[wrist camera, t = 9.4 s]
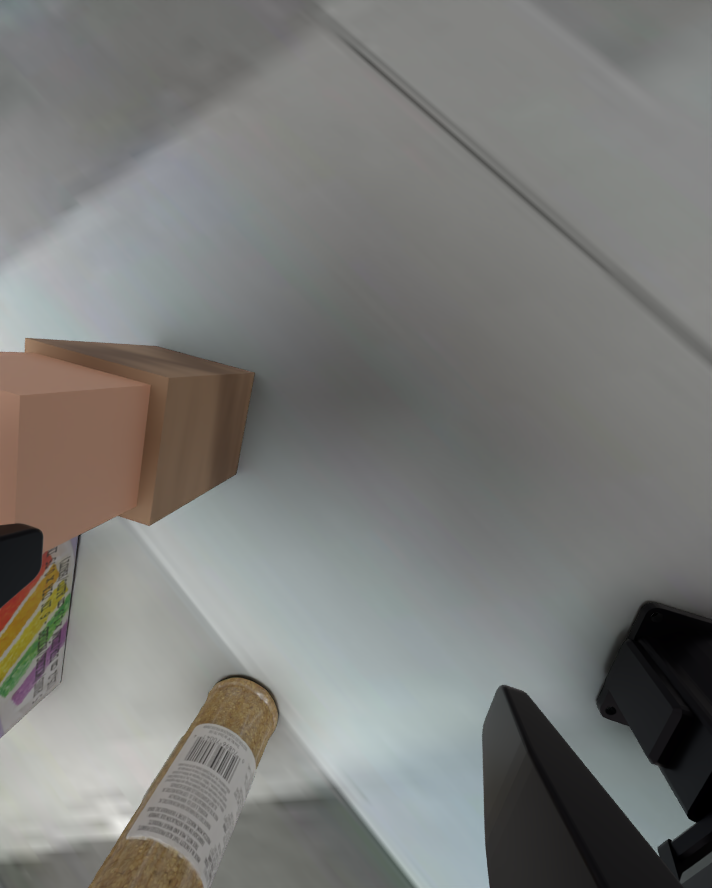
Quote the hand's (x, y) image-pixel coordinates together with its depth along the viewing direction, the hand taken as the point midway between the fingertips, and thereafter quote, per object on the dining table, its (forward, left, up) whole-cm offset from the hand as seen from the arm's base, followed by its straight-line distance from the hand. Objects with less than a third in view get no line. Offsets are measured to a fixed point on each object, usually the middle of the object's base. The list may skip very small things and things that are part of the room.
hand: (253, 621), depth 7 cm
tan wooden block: (+9, 0, -13) cm, 16 cm away
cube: (+9, 0, -6) cm, 11 cm away
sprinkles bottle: (+3, +17, -13) cm, 22 cm away
